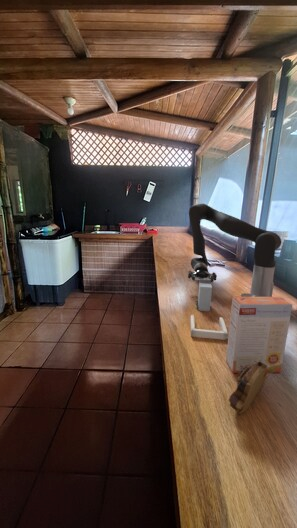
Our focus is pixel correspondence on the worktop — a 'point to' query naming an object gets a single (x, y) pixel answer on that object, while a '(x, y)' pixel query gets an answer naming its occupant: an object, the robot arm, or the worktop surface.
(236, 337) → the cracker box
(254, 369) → the wooden carving
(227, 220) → the robot arm
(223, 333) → the bay
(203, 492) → the worktop surface
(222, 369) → the worktop surface
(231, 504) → the worktop surface
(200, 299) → the grey tall block
